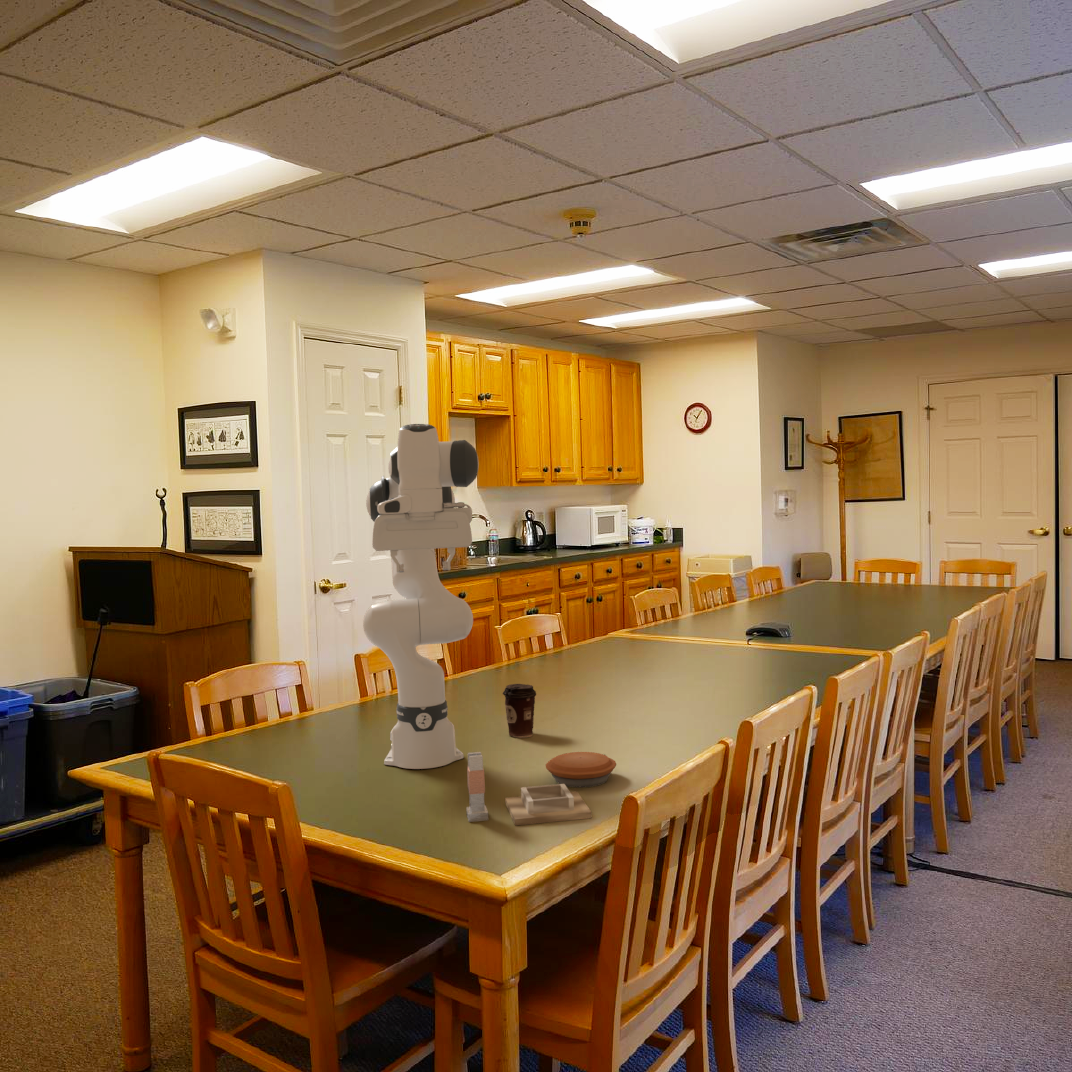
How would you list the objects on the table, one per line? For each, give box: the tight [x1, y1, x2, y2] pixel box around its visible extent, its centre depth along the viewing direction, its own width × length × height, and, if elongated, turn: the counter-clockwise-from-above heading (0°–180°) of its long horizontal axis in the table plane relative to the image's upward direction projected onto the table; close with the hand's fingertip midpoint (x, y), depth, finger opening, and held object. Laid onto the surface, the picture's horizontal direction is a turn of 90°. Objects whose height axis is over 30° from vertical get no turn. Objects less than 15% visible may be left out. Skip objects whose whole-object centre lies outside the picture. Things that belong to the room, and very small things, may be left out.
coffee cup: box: [502, 683, 537, 739], centre depth 248 cm, size 9×8×13 cm
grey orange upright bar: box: [465, 751, 489, 823], centre depth 186 cm, size 4×4×12 cm
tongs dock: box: [504, 783, 592, 826], centre depth 189 cm, size 13×15×4 cm
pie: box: [545, 751, 617, 788], centre depth 209 cm, size 15×16×5 cm
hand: (423, 571), depth 194 cm, fingers open, 8 cm apart
